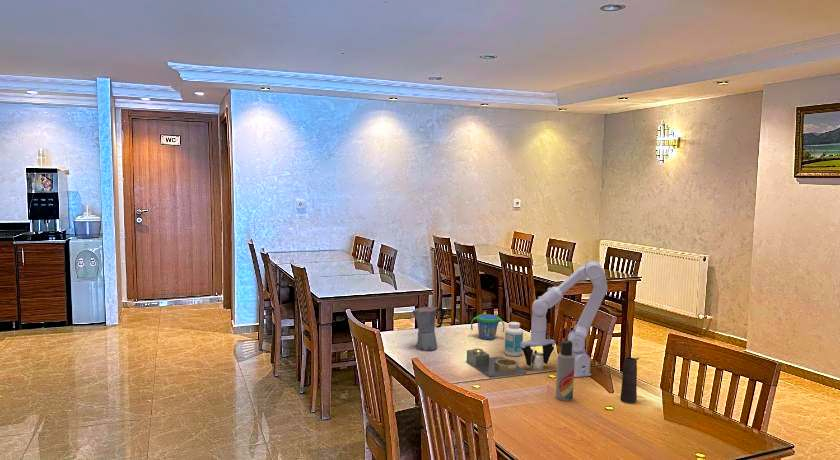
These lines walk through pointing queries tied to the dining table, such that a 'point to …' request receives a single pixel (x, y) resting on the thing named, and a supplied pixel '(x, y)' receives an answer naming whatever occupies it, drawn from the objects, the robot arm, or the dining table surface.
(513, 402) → the dining table surface
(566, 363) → the lotion bottle
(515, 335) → the pill bottle
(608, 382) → the dining table surface
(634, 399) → the butter churn
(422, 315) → the moka pot
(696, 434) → the dining table surface
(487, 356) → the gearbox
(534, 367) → the spout can
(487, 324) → the snack cup
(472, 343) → the dining table surface
